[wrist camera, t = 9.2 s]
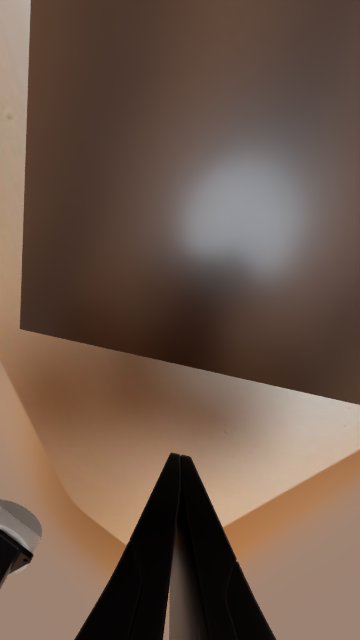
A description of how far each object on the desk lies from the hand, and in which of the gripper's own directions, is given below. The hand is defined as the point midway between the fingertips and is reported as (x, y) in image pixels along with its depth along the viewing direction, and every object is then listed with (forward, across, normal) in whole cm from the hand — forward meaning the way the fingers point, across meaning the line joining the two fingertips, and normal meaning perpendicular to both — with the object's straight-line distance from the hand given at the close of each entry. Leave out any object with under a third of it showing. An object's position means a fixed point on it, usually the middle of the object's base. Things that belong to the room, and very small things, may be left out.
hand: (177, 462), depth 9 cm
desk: (+8, 0, -11) cm, 13 cm away
